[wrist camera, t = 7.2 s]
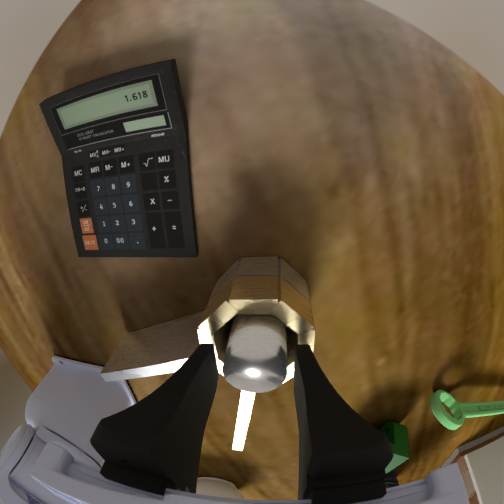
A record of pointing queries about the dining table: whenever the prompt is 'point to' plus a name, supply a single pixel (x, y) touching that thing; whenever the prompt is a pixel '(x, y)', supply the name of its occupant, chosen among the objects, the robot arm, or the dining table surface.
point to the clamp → (396, 443)
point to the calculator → (126, 163)
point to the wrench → (461, 409)
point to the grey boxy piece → (483, 466)
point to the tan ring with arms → (221, 326)
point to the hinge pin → (256, 353)
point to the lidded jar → (217, 488)
